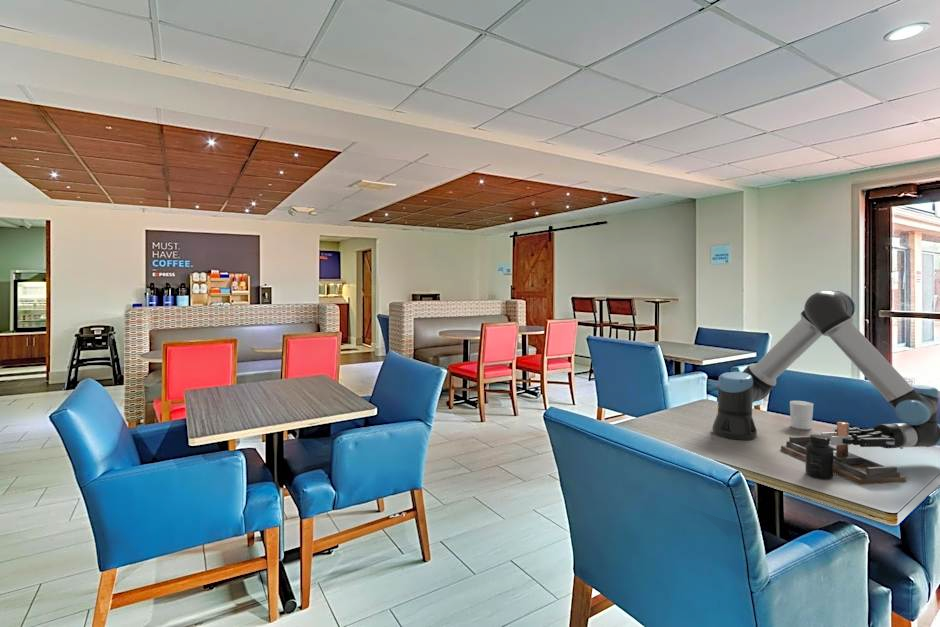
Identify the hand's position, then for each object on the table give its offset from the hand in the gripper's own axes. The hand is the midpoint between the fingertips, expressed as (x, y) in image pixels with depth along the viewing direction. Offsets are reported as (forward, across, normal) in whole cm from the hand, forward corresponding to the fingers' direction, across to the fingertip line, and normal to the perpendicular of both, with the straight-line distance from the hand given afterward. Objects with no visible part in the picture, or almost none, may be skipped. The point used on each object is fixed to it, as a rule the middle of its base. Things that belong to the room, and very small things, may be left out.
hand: (826, 438), depth 152 cm
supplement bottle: (+8, -6, -9) cm, 14 cm away
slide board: (-5, +2, -9) cm, 11 cm away
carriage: (-5, 0, -7) cm, 9 cm away
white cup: (-26, +40, -9) cm, 49 cm away
